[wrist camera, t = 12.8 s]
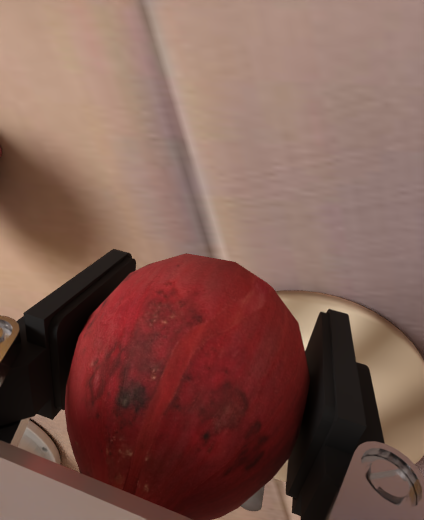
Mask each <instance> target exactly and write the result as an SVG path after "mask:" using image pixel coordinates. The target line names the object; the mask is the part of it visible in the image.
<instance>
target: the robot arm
mask: <svg viewBox="0 0 424 520" xmlns="http://www.w3.org/2000/svg"><path fill="white" fill-rule="evenodd" d="M135 270H136V261H135V259H132V256H131V254H130V253H127V252H123V251H120V250H116V249H113V250H111V251H110V252H108V253H107V254H106V255H104V256H103V257H101V258H100V259H99V260H97V261H96V262H94V263H93V264H92V265H90V266H89V267H87V268H86V269H85V270H83V271H82V272H80V273H79V274H78V275H76V276H75V277H73V278H72V279H71V280H69V281H68V282H66V283H65V284H64V285H62V286H61V287H59V288H58V289H57V290H55V291H54V292H52V293H51V294H50V295H48V296H47V297H45V298H44V299H43V300H41V301H40V302H38V303H37V304H36V305H34V306H33V307H31V308H30V309H29V310H27V311H26V312H24V316H23V317H22V318H20V319H19V320H18V321H15V320H14V319H12V318H10V317H7V316H1V315H0V520H192V519H190V518H188V517H185V516H183V515H180V514H178V513H176V512H173V511H171V510H169V509H166V508H164V507H161V506H159V505H157V504H154V503H152V502H149V501H147V500H144V499H142V498H140V497H137V496H135V495H132V494H130V493H128V492H125V491H123V490H120V489H118V488H115V487H113V486H111V485H108V484H106V483H103V482H101V481H99V480H96V479H94V478H91V477H89V476H86V475H84V474H82V473H79V472H77V471H74V470H72V469H69V468H67V467H65V466H62V465H60V463H61V460H60V455H59V452H58V449H57V447H56V446H55V444H54V443H53V441H52V440H51V438H50V437H49V436H48V435H47V434H46V433H45V432H44V431H43V430H42V429H41V428H40V427H38V426H37V425H36V424H34V423H33V422H32V421H30V420H29V419H30V417H33V416H35V415H36V414H39V415H42V416H44V417H47V418H50V419H52V420H53V419H54V417H55V416H56V415H57V414H58V413H59V411H60V410H61V409H62V410H65V395H66V385H67V380H68V376H69V372H70V368H71V364H72V360H73V356H74V352H75V349H76V345H77V341H78V337H79V335H80V333H81V332H82V330H83V328H84V326H85V324H86V322H87V320H88V318H89V316H90V315H91V314H92V313H93V312H94V311H95V310H96V309H97V308H98V307H99V306H100V305H101V304H102V303H103V302H104V300H105V299H106V298H107V297H108V296H109V295H110V294H111V293H112V292H113V291H114V290H115V289H116V288H117V287H118V285H119V284H120V283H121V282H122V281H123V280H124V279H125V278H126V277H127V276H128V275H129V274H130V273H132V272H134V271H135ZM305 354H306V359H307V364H308V370H309V375H310V384H309V389H308V395H307V400H306V406H305V410H304V415H303V419H302V424H301V428H300V433H299V436H298V439H297V441H296V443H295V446H294V448H293V450H292V453H291V455H290V457H289V459H288V467H287V480H286V495H288V496H291V497H293V502H292V513H294V514H297V515H299V516H301V520H424V476H423V475H422V473H421V472H420V470H419V469H418V467H417V466H416V465H415V464H414V463H413V462H412V461H411V460H410V459H409V458H408V457H407V456H405V455H404V454H402V453H401V452H400V451H398V450H397V449H395V448H393V447H391V446H389V445H387V444H385V442H384V437H383V432H382V427H381V423H380V418H379V413H378V408H377V403H376V398H375V394H374V389H373V384H372V379H371V374H370V370H369V367H368V366H367V365H365V364H361V363H358V362H356V357H355V351H354V345H353V339H352V333H351V326H350V320H349V315H348V314H346V313H342V312H339V311H335V310H332V309H328V310H327V312H326V313H325V312H320V313H319V315H318V318H317V321H316V323H315V326H314V329H313V331H312V334H311V337H310V340H309V342H308V345H307V348H306V350H305Z"/></svg>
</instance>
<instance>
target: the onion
mask: <svg viewBox="0 0 424 520" xmlns="http://www.w3.org/2000/svg"><path fill="white" fill-rule="evenodd" d="M309 384H310V375H309V370H308V364H307V359H306V354H305V349H304V345H303V341H302V336H301V332H300V327H299V323H298V321H297V320H296V319H295V317H294V316H293V315H292V313H291V312H290V311H289V309H288V308H287V306H286V305H285V304H284V302H283V301H282V300H281V298H280V297H279V296H278V294H277V293H276V291H275V290H274V289H273V288H272V287H271V286H270V285H269V284H268V283H266V282H265V281H263V280H262V279H260V278H259V277H257V276H256V275H254V274H253V273H251V272H250V271H248V270H247V269H245V268H243V267H242V266H240V265H239V264H237V263H236V262H232V261H226V260H221V259H215V258H209V257H204V256H198V255H192V254H183V255H179V256H176V257H172V258H169V259H165V260H162V261H158V262H155V263H151V264H149V265H146V266H144V267H142V268H140V269H138V270H136V271H134V272H132V273H130V274H129V275H128V276H127V277H126V278H125V279H124V280H123V281H122V282H121V283H120V284H119V285H118V287H117V288H116V289H115V290H114V291H113V292H112V293H111V294H110V295H109V296H108V297H107V298H106V299H105V300H104V302H103V303H102V304H101V305H100V306H99V307H98V308H97V309H96V310H95V311H94V312H93V313H92V314H91V315H90V316H89V318H88V320H87V322H86V324H85V326H84V328H83V330H82V332H81V333H80V335H79V337H78V341H77V345H76V349H75V352H74V356H73V360H72V364H71V368H70V372H69V376H68V380H67V385H66V395H65V414H66V423H67V431H68V435H69V439H70V442H71V446H72V450H73V453H74V456H75V459H76V462H77V464H78V467H79V470H80V473H82V474H84V475H86V476H89V477H91V478H94V479H96V480H99V481H101V482H103V483H106V484H108V485H111V486H113V487H115V488H118V489H120V490H123V491H125V492H128V493H130V494H132V495H135V496H137V497H140V498H142V499H144V500H147V501H149V502H152V503H154V504H157V505H159V506H161V507H164V508H166V509H169V510H171V511H173V512H176V513H178V514H180V515H183V516H185V517H188V518H190V519H192V520H212V519H216V518H220V517H222V516H224V515H226V514H227V513H229V512H231V511H233V510H235V509H237V508H238V507H240V506H241V505H242V504H243V503H244V502H246V501H247V500H248V499H249V498H250V497H252V496H253V495H254V494H255V493H256V492H257V491H258V490H260V489H261V488H262V487H263V486H264V485H265V484H266V483H268V482H269V481H270V480H271V479H272V478H273V477H274V476H275V475H276V474H277V472H278V471H279V470H280V469H281V468H282V466H283V465H284V464H285V463H286V461H287V460H288V459H289V457H290V455H291V453H292V450H293V448H294V446H295V443H296V441H297V439H298V436H299V433H300V428H301V424H302V419H303V415H304V410H305V406H306V400H307V395H308V389H309Z"/></svg>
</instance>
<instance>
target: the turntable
mask: <svg viewBox="0 0 424 520" xmlns="http://www.w3.org/2000/svg"><path fill="white" fill-rule="evenodd" d="M276 293H277V294H278V296H279V297H280V298H281V300H282V301H283V302H284V304H285V305H286V306H287V308H288V309H289V311H290V312H291V313H292V315H293V316H294V317H295V319H296V320H297V321H298V323H299V327H300V332H301V336H302V341H303V345H304V349H305V350H306V348H307V345H308V342H309V340H310V337H311V334H312V331H313V329H314V326H315V323H316V321H317V318H318V315H319V313H320V312H325V313H326V312H327V310H328V309H332V310H335V311H339V312H342V313H346V314H348V315H349V320H350V326H351V333H352V339H353V345H354V351H355V357H356V362H358V363H361V364H365V365H367V366H368V367H369V370H370V374H371V379H372V384H373V389H374V394H375V398H376V403H377V408H378V413H379V418H380V423H381V427H382V432H383V437H384V442H385V444H387V445H389V446H391V447H393V448H395V449H397V450H398V451H400V452H401V453H402V454H404V455H405V456H407V457H408V458H409V459H410V460H411V461H412V462H413V463H414V464H416V463H417V462H418V461H419V460H420V459H421V458H422V457H423V456H424V360H423V358H422V356H421V355H420V353H419V352H418V350H417V349H416V347H415V346H414V344H413V343H412V342H411V341H410V340H409V339H408V338H407V337H406V336H405V335H404V334H403V333H402V332H401V331H400V330H399V329H398V328H397V327H395V326H394V325H393V324H392V323H390V322H389V321H388V320H386V319H385V318H383V317H381V316H380V315H378V314H377V313H375V312H373V311H372V310H370V309H367V308H365V307H363V306H361V305H359V304H357V303H354V302H352V301H349V300H346V299H343V298H340V297H337V296H332V295H328V294H323V293H318V292H309V291H276ZM287 467H288V460H287V461H286V463H285V464H284V465H283V466H282V468H281V469H280V470H279V471H278V472H277V474H276V475H275V476H274V477H273V478H275V479H278V480H281V481H284V482H286V480H287ZM264 486H265V485H264ZM264 486H263V487H262V488H261V489H260V490H258V491H257V492H256V493H255V494H254V495H253V496H252V497H250V498H249V499H248V500H247V501H246V502H244V503H243V504H242V505H241V507H243V508H244V509H246V510H249V511H258V510H260V509H261V507H262V500H263V493H264Z"/></svg>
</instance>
